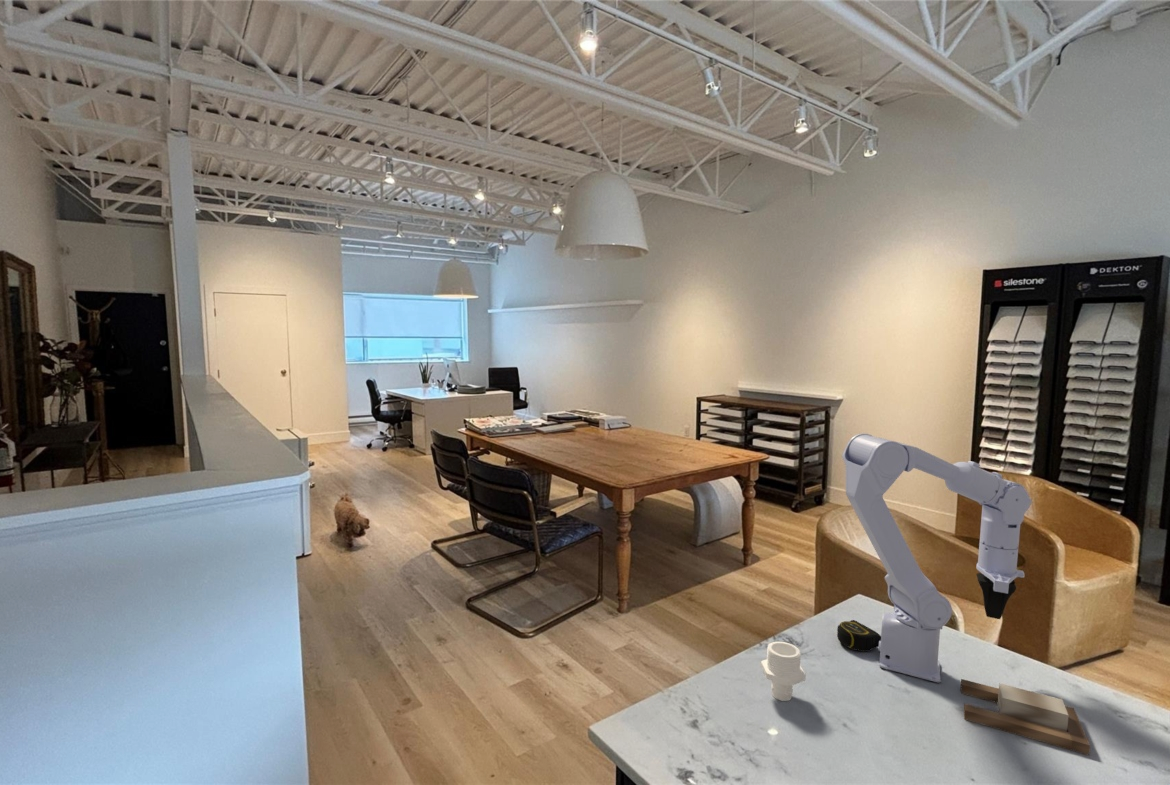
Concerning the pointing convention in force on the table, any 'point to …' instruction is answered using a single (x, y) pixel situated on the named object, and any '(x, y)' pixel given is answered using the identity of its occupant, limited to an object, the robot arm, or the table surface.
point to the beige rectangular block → (1032, 707)
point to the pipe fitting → (783, 669)
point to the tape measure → (857, 636)
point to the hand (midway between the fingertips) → (992, 616)
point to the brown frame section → (1023, 721)
